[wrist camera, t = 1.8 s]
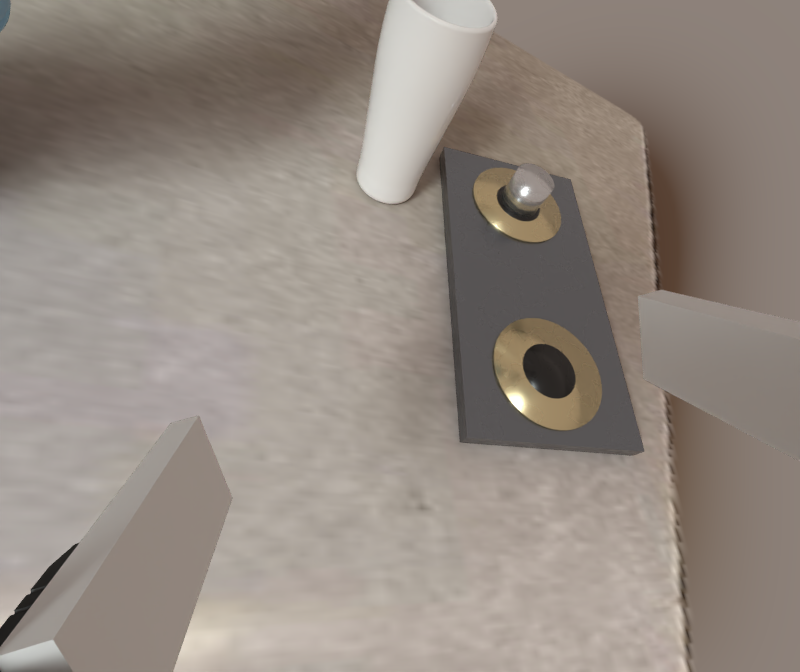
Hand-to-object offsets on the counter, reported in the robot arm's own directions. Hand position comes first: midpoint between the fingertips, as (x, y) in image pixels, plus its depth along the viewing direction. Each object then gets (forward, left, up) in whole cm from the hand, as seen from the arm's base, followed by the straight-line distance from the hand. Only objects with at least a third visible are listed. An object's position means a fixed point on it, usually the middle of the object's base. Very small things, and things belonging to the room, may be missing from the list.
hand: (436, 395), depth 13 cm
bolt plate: (-1, +23, -16) cm, 27 cm away
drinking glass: (-16, +21, -16) cm, 30 cm away
